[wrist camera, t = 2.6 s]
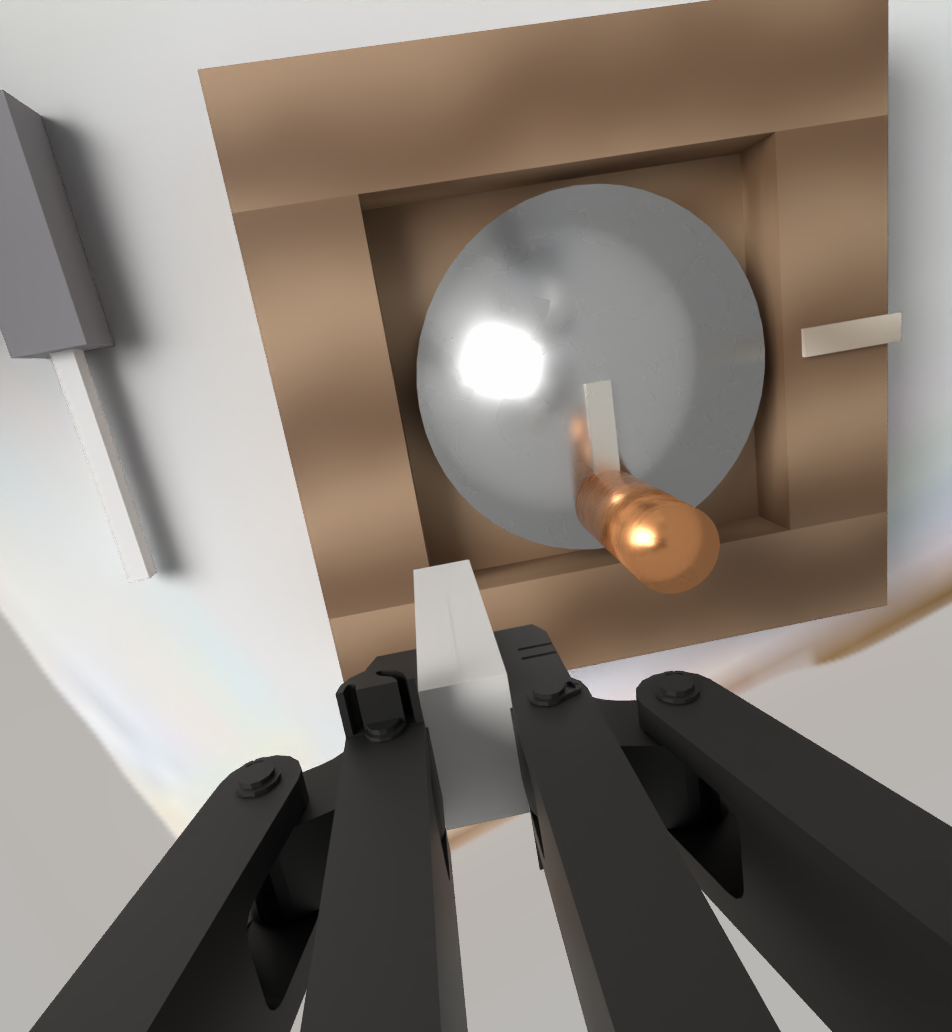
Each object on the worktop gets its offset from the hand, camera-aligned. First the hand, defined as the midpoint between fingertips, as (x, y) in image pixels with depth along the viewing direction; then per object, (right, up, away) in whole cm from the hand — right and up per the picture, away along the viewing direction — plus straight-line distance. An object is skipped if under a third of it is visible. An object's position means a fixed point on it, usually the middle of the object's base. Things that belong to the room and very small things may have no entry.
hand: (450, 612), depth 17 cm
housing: (+4, +8, +10) cm, 14 cm away
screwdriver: (-14, +8, +8) cm, 18 cm away
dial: (+5, +8, +7) cm, 12 cm away
